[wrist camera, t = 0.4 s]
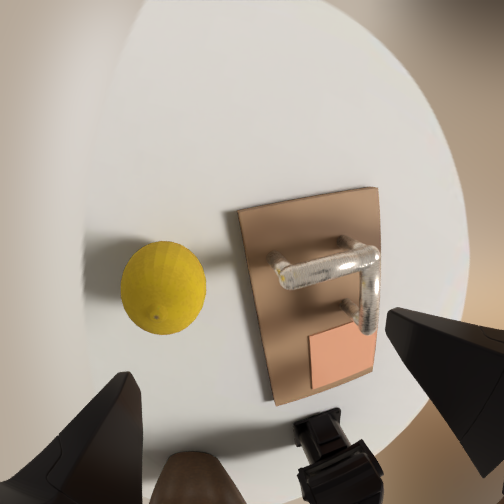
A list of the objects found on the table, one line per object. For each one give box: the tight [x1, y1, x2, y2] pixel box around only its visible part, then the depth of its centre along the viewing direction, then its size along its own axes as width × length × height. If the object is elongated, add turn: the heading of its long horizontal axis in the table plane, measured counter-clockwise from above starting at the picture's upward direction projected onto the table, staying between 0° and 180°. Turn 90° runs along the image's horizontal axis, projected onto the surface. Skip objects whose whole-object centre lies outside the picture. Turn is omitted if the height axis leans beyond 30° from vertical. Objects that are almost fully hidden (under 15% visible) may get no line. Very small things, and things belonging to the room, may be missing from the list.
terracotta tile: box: [309, 321, 377, 389], centre depth 26 cm, size 8×8×1 cm
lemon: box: [121, 241, 206, 335], centre depth 17 cm, size 6×6×8 cm
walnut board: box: [237, 187, 381, 406], centre depth 24 cm, size 21×12×1 cm, turn 10°
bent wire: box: [267, 235, 381, 336], centre depth 20 cm, size 8×8×5 cm
